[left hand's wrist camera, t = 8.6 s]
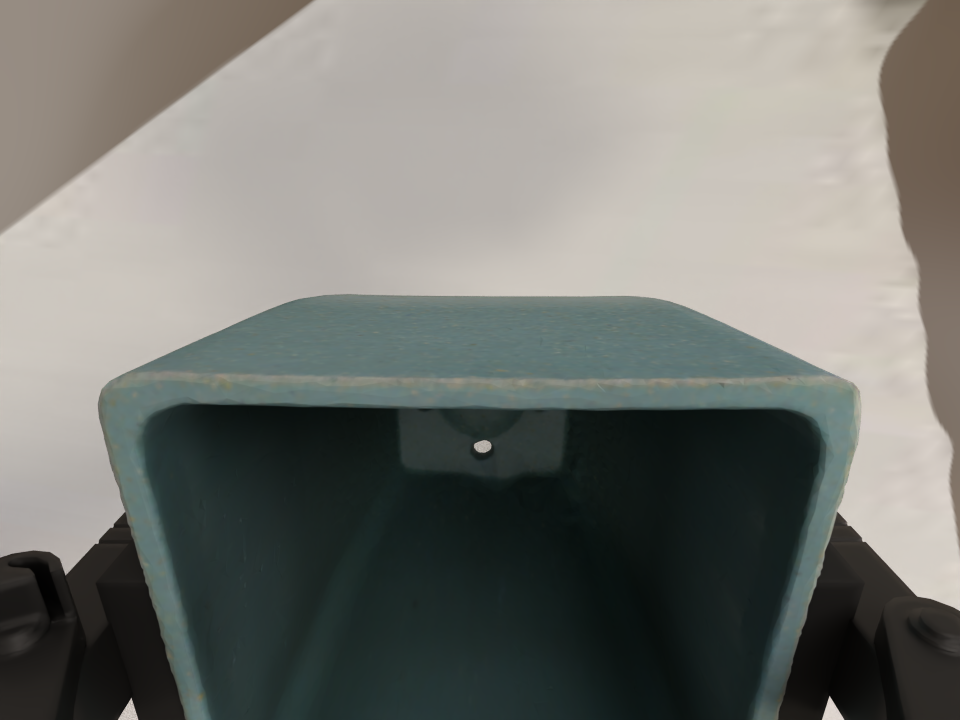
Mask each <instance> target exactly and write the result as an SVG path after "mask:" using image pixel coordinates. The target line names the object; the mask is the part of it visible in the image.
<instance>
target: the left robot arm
mask: <svg viewBox="0 0 960 720" xmlns="http://www.w3.org/2000/svg"><path fill="white" fill-rule="evenodd" d="M829 695H830V697H831V699H832V700H833V702H834V704H835V705H836V707H837V708H838V710H839V712H840V713H841V715H842V716H843V718H844V720H960V611H959V610H957V609H955V608H953V607H951V606H948V605H945V604H943V603H940V602H937V601H935V600H932V599H927V598H921V597H917V596H916V595H915V594H914V593H913V592H912V591H911V590H910V589H909V588H908V586H907V585H906V584H905V583H904V582H903V581H902V580H901V579H900V578H899V577H898V576H897V575H896V574H895V573H894V572H893V571H892V569H891V568H890V567H889V566H888V565H887V564H886V563H885V562H884V561H883V560H882V559H881V558H880V557H879V556H878V555H877V554H876V552H875V551H874V550H873V549H872V548H871V547H870V546H869V545H868V544H867V543H866V542H862V538H861V537H860V535H859V534H858V533H857V532H856V531H855V530H854V529H853V528H852V527H851V526H848V525H847V522H846V521H845V519H844V518H843V517H842V516H841V515H840V514H839V513H838V512H837V514H836V519H835V523H834V526H833V530H832V534H831V537H830V540H829V543H828V545H827V547H826V550H825V555H824V561H823V568H822V569H821V575H820V576H819V577H818V578H817V583H816V587H815V589H814V591H813V595H812V598H811V601H810V603H809V606H808V611H807V618H806V621H805V624H804V626H803V628H802V630H801V635H800V637H799V640H798V644H797V647H796V650H795V654H794V657H793V663H792V666H791V673H790V676H789V678H788V681H787V685H786V690H785V695H784V696H783V701H782V704H781V706H780V709H779V714H778V720H822V718H823V714H824V711H825V708H826V705H827V702H828V699H829ZM131 697H132V701H133V704H134V707H135V710H136V713H137V716H138V720H186V719H185V716H184V710H183V706H182V704H181V701H180V697H179V692H178V688H177V685H176V682H175V679H174V675H173V673H172V671H171V668H170V663H169V661H168V659H167V655H166V650H165V644H164V641H163V639H162V637H161V631H160V626H159V622H158V619H157V615H156V612H155V610H154V608H153V605H152V600H151V598H150V595H149V588H148V585H147V584H146V582H145V576H144V573H143V569H142V567H141V564H140V561H139V558H138V554H137V550H136V546H135V542H134V539H133V537H132V535H131V528H130V526H129V525H128V522H127V516H126V512H125V513H124V514H123V515H122V516H121V517H120V518H119V519H118V520H117V521H116V522H115V523H114V527H113V528H110V529H109V530H108V531H107V532H106V533H105V534H104V535H103V536H102V537H101V538H100V539H99V544H95V545H94V546H93V547H92V548H91V549H90V550H89V551H88V552H87V553H86V554H85V556H84V557H83V558H82V559H81V560H80V561H79V562H78V563H77V564H76V565H75V566H74V567H73V568H72V569H71V571H70V572H69V573H68V574H67V575H66V576H65V573H64V570H63V567H62V564H61V561H60V559H59V558H58V557H56V556H55V555H53V554H52V553H50V552H43V551H28V552H21V553H14V554H10V555H7V556H4V557H1V558H0V720H118V718H119V717H120V715H121V714H122V712H123V710H124V709H125V707H126V705H127V704H128V702H129V701H130V699H131Z"/></svg>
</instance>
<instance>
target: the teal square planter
mask: <svg viewBox="0 0 960 720" xmlns="http://www.w3.org/2000/svg"><path fill="white" fill-rule="evenodd" d="M98 410H99V419H100V423H101V426H102V430H103V434H104V439H105V443H106V447H107V451H108V454H109V459H110V464H111V467H112V471H113V472H114V476H115V480H116V482H117V484H118V487H119V490H120V496H121V500H122V503H123V506H124V508H125V512H126V516H127V522H128V525H129V526H130V528H131V535H132V537H133V539H134V542H135V546H136V550H137V554H138V558H139V561H140V564H141V567H142V569H143V573H144V576H145V582H146V584H147V585H148V588H149V595H150V598H151V600H152V605H153V608H154V610H155V612H156V615H157V619H158V622H159V626H160V631H161V637H162V639H163V641H164V644H165V650H166V655H167V659H168V661H169V663H170V668H171V671H172V673H173V675H174V679H175V682H176V685H177V688H178V692H179V697H180V701H181V704H182V706H183V710H184V716H185V719H186V720H778V714H779V709H780V706H781V704H782V701H783V696H784V695H785V690H786V685H787V681H788V678H789V676H790V673H791V666H792V663H793V657H794V654H795V650H796V647H797V644H798V640H799V637H800V635H801V630H802V628H803V626H804V624H805V621H806V618H807V611H808V606H809V603H810V601H811V598H812V595H813V591H814V589H815V587H816V583H817V578H818V577H819V576H820V575H821V569H822V568H823V561H824V555H825V550H826V547H827V545H828V543H829V540H830V537H831V534H832V530H833V526H834V523H835V519H836V514H837V510H838V507H839V505H840V503H841V501H842V498H843V494H844V488H845V485H846V483H847V480H848V476H849V471H850V466H851V463H852V460H853V456H854V453H855V450H856V447H857V445H858V438H859V430H860V422H861V398H860V391H859V389H858V388H857V386H856V385H855V384H854V383H852V382H850V381H848V380H845V379H843V378H841V377H838V376H836V375H834V374H832V373H829V372H827V371H825V370H823V369H820V368H818V367H816V366H814V365H812V364H810V363H808V362H806V361H804V360H802V359H799V358H797V357H795V356H793V355H791V354H789V353H787V352H785V351H783V350H781V349H778V348H776V347H774V346H772V345H770V344H768V343H766V342H763V341H761V340H759V339H757V338H755V337H753V336H750V335H748V334H746V333H744V332H742V331H739V330H737V329H735V328H733V327H731V326H729V325H726V324H724V323H722V322H720V321H717V320H715V319H713V318H711V317H708V316H706V315H704V314H702V313H699V312H697V311H694V310H692V309H690V308H687V307H685V306H682V305H679V304H675V303H673V302H669V301H665V300H660V299H655V298H646V297H635V296H597V297H485V296H386V295H352V294H346V295H324V296H317V297H310V298H303V299H298V300H295V301H291V302H288V303H285V304H282V305H280V306H277V307H274V308H272V309H269V310H267V311H264V312H262V313H260V314H257V315H255V316H252V317H250V318H248V319H246V320H243V321H241V322H239V323H237V324H234V325H232V326H230V327H228V328H226V329H224V330H221V331H219V332H217V333H214V334H212V335H209V336H207V337H205V338H203V339H200V340H198V341H196V342H194V343H191V344H189V345H187V346H185V347H182V348H180V349H178V350H176V351H173V352H171V353H169V354H167V355H165V356H162V357H160V358H158V359H156V360H154V361H151V362H149V363H147V364H145V365H143V366H140V367H138V368H136V369H134V370H131V371H129V372H127V373H125V374H123V375H121V376H119V377H117V378H115V379H113V380H111V381H110V382H109V383H108V384H107V385H106V386H105V387H104V388H103V389H102V390H101V394H100V397H99V401H98ZM482 440H487V441H489V442H490V443H491V445H492V447H491V449H490V450H489V451H488V452H486V453H479V452H477V451H476V450H475V448H474V444H475V443H477V442H479V441H482Z"/></svg>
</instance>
